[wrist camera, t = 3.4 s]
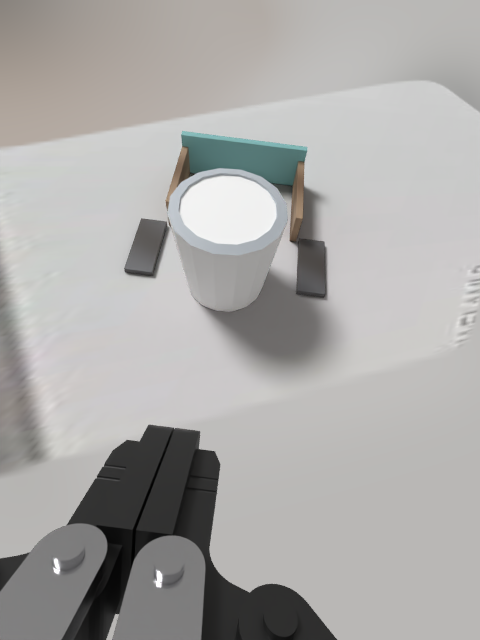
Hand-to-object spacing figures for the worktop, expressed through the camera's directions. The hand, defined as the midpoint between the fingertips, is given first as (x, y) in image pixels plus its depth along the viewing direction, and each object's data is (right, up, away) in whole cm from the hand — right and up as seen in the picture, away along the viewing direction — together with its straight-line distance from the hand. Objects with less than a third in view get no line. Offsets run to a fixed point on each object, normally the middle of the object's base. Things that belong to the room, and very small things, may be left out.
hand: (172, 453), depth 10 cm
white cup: (+1, +7, +16) cm, 17 cm away
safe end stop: (+2, +17, +21) cm, 27 cm away
